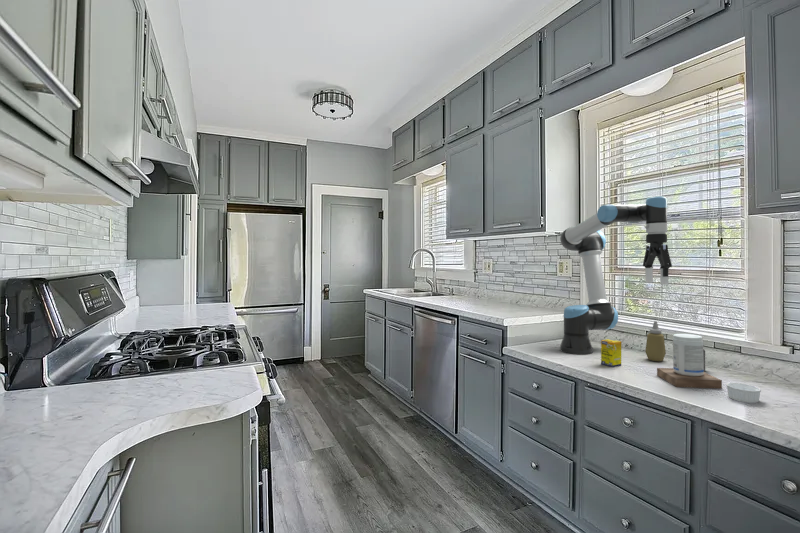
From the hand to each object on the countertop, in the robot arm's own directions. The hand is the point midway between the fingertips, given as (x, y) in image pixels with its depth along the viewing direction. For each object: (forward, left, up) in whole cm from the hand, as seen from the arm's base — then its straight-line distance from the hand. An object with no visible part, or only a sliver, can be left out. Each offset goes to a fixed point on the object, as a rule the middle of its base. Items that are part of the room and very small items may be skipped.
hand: (656, 283), depth 169 cm
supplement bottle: (-2, +16, -37) cm, 40 cm away
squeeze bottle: (-17, +7, -37) cm, 41 cm away
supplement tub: (+16, +4, -34) cm, 38 cm away
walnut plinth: (+16, +4, -37) cm, 40 cm away
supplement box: (-6, -16, -37) cm, 41 cm away
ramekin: (+34, +12, -37) cm, 52 cm away
